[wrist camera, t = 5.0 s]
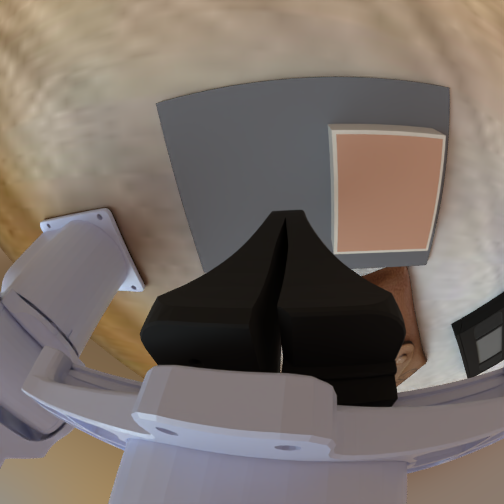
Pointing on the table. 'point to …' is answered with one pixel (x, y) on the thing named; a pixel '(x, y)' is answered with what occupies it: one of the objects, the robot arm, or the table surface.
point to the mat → (282, 154)
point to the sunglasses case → (400, 287)
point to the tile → (384, 186)
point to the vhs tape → (481, 337)
